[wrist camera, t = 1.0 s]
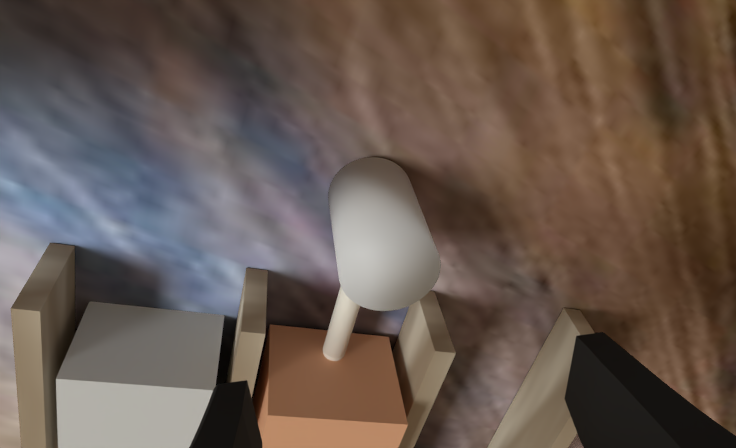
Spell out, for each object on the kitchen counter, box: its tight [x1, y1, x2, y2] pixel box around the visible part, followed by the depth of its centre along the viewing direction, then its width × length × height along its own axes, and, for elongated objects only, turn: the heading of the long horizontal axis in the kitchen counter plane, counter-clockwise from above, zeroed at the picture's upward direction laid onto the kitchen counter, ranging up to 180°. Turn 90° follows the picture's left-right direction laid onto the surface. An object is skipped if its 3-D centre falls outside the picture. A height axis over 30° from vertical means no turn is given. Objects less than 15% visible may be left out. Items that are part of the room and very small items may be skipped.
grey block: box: [56, 301, 225, 448], centre depth 22 cm, size 5×5×4 cm
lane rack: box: [11, 243, 595, 448], centre depth 23 cm, size 21×11×5 cm, turn 76°
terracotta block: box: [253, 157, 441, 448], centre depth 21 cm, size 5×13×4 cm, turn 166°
